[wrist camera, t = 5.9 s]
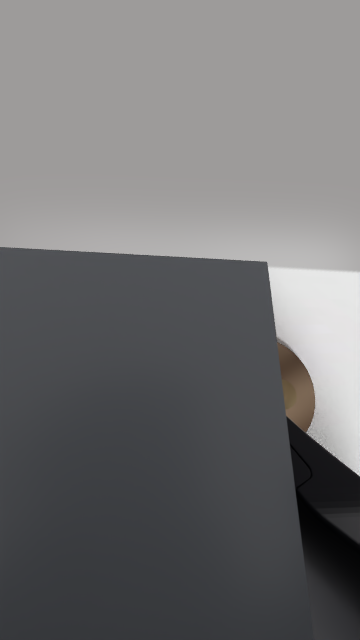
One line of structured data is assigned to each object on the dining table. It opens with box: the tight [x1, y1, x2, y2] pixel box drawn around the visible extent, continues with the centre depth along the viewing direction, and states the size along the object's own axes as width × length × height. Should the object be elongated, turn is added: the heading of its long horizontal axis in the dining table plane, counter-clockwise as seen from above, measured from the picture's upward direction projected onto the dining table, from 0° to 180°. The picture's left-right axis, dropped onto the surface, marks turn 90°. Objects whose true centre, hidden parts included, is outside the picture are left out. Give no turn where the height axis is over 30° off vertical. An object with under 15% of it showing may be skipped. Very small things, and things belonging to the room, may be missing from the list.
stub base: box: [277, 342, 315, 433], centre depth 19 cm, size 11×11×5 cm
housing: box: [0, 247, 314, 640], centre depth 9 cm, size 6×6×12 cm
